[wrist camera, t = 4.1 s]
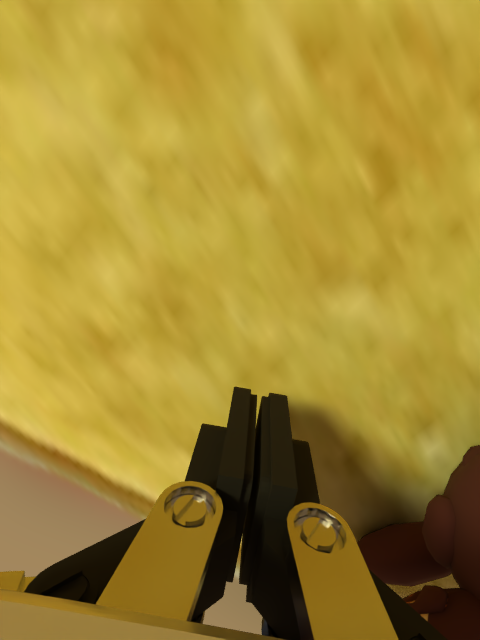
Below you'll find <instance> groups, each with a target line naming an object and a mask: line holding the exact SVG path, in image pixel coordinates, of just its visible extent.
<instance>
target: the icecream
mask: <svg viewBox="0 0 480 640" xmlns="http://www.w3.org/2000/svg"><path fill="white" fill-rule="evenodd" d="M357 544H358V547H359V549H360V551H361V554H362V556H363V558H364V561H365V563H366V565H367V568H368V569H369V570H371V571H372V572H373V573H374V574H375V575H376V576H377V577H378V578H379V579H381V580H382V581H383V582H384V583H385V584H393V585H402V586H415V585H418V584H422V583H425V582H429V581H432V580H436V579H439V578H443V577H446V576H448V575H450V574H451V573H452V574H453V577H454V579H455V580H456V582H457V583H458V585H459V587H460V588H450V589H442V588H441V587H438V586H427V585H424V587H423V589H422V590H421V591H417V592H415V593H413V594H411V595H409V596H407V597H405V598H403V600H404V601H405V602H406V603H407V604H409V605H410V606H411V607H412V608H413V609H414V610H415V611H416V612H418V613H419V614H420V615H421V616H422V617H423V618H424V619H425V620H426V621H428V622H429V623H430V624H431V625H432V626H433V627H434V628H435V629H437V630H438V631H439V632H440V633H441V634H442V635H443V636H444V637H446V638H447V640H480V445H478V446H474V447H470V449H469V450H468V451H467V453H466V454H465V455H464V456H463V461H462V462H461V464H460V465H459V466H458V467H457V468H456V469H455V471H454V472H453V473H452V474H451V476H450V479H449V481H448V484H447V487H446V489H445V492H444V494H443V495H437V496H435V497H434V498H433V499H432V500H431V501H430V502H429V504H428V506H427V510H426V514H425V519H424V521H422V522H412V523H402V524H392V525H389V526H387V527H385V528H382V529H380V530H378V531H375V532H373V533H370V534H368V535H365V536H364V537H363V538H362V539H360V540H359V541H358V542H357Z"/></svg>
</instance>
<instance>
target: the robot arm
mask: <svg viewBox="0 0 480 640" xmlns="http://www.w3.org/2000/svg"><path fill="white" fill-rule="evenodd" d="M256 407H257V395H253V394H251V389H245V388H239V387H234V391H233V396H232V402H231V407H230V413H229V418H228V424H227V428H226V427H220V426H214V425H209V424H202V426H201V429H200V432H199V435H198V439H197V442H196V445H195V449H194V452H193V455H192V459H191V462H190V465H189V469H188V472H187V475H186V479H185V481H184V482H179V483H176V484H173V485H171V486H170V487H168V488H166V489H165V490H164V491H163V492H162V494H161V495H160V496H159V498H158V499H157V501H156V503H155V504H154V506H153V508H152V510H151V511H150V513H149V515H148V516H147V518H146V519H145V520H143V521H141V522H139V523H137V524H135V525H132V526H130V527H129V528H126V529H124V530H122V531H120V532H118V533H116V534H114V535H112V536H110V537H108V538H106V539H104V540H102V541H100V542H98V543H96V544H94V545H92V546H90V547H88V548H86V549H84V550H82V551H80V552H78V553H76V554H74V555H71V556H69V557H68V558H65V559H63V560H61V561H59V562H57V563H55V564H53V565H52V566H50V567H48V568H47V569H45V570H44V571H42V572H41V573H40V574H38V575H37V576H36V577H25V571H10V572H9V571H8V572H0V640H447V638H446V637H444V636H443V635H442V634H441V633H440V632H439V631H438V630H437V629H435V628H434V627H433V626H432V625H431V624H430V623H429V622H428V621H426V620H425V619H424V618H423V617H422V616H421V615H420V614H419V613H418V612H416V611H415V610H414V609H413V608H412V607H411V606H410V605H409V604H407V603H406V602H405V601H404V600H403V599H402V598H401V597H400V596H399V595H397V594H396V593H395V592H394V591H393V590H392V589H391V588H390V587H388V586H387V585H386V584H385V583H384V582H383V581H382V580H381V579H379V578H378V577H377V576H376V575H375V574H374V573H373V572H372V571H371V570H369V569H368V568H367V565H366V563H365V561H364V558H363V556H362V554H361V551H360V549H359V547H358V544H357V542H356V540H355V537H354V535H353V533H352V531H351V529H350V527H349V525H348V524H347V522H346V521H345V520H344V519H343V518H342V517H341V516H340V515H339V514H338V513H336V512H335V511H333V510H332V509H331V508H328V507H326V506H324V505H321V504H320V501H319V496H318V490H317V485H316V480H315V474H314V469H313V463H312V458H311V453H310V447H309V444H308V442H305V441H300V440H294V439H292V435H291V426H290V417H289V409H288V400H287V396H286V395H280V394H274V393H269V396H268V397H265V396H262V399H261V404H260V409H259V414H258V419H257V424H256ZM255 428H256V429H255ZM242 533H243V535H242ZM241 538H242V548H241V562H240V576H239V584H244V585H247V595H246V602H250V603H252V604H253V605H254V606H255V607H256V609H257V610H258V611H259V613H260V614H261V615H262V617H263V618H262V629H261V630H262V635H259V634H253V633H248V632H243V631H237V630H232V629H227V628H221V627H216V626H210V625H205V624H203V620H204V615H205V610H206V609H208V608H209V607H210V606H211V605H213V604H214V603H216V602H217V601H218V600H219V599H221V598H222V597H223V595H224V590H225V585H226V581H227V582H233V578H234V573H235V568H236V563H237V558H238V553H239V548H240V543H241Z"/></svg>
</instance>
